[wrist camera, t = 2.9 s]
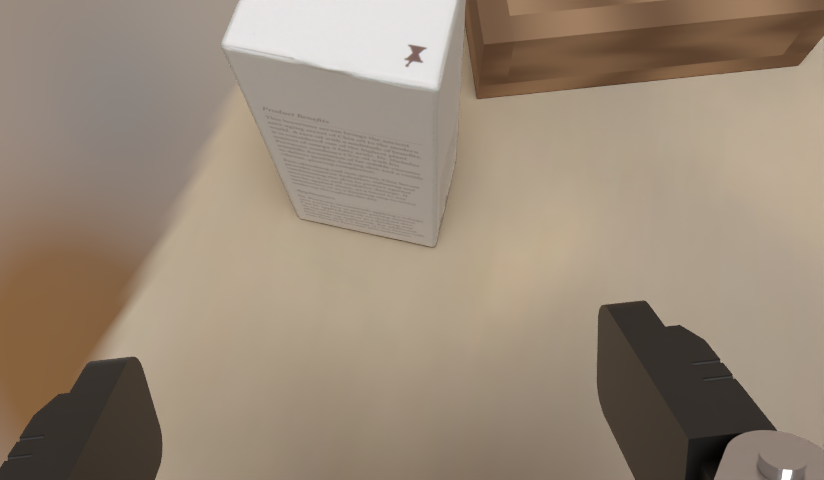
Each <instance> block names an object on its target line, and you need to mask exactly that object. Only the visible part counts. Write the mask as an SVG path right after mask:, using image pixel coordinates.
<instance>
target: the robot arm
mask: <svg viewBox="0 0 824 480" xmlns="http://www.w3.org/2000/svg"><path fill="white" fill-rule="evenodd" d="M597 388H598V395H599V400H600V404H601V408H602V411H603V414H604V416H605V418H606V420H607V422H608V424H609V426H610V428H611V431H612V433H613V435H614V437H615V439H616V441H617V443H618V445H619V447H620V449H621V451H622V453H623V455H624V457H625V459H626V462H627V464H628V466H629V468H630V470H631V472H632V474H633V476H634V478H635V480H824V450H823V449H821V448H820V447H818V446H817V445H815V444H813V443H812V442H810V441H808V440H806V439H803V438H801V437H798V436H795V435H792V434H789V433H784V432H780V431H777V430H776V428H775V427H774V426H773V425H772V423H771V422H770V421H769V420H768V418H767V417H766V416H765V415H764V413H763V412H762V411H761V410H760V408H759V407H758V406H757V405H756V403H755V402H754V401H753V400H752V398H751V397H750V396H749V395H748V393H747V392H746V391H745V390H744V388H743V387H742V386H741V385H740V383H739V382H738V381H737V380H736V379H733V376H732V373H731V372H730V371H729V370H728V368H727V367H726V366H725V365H724V363H721V362H720V358H719V357H718V356H717V355H716V353H715V352H714V351H713V350H712V348H711V347H710V346H709V345H708V343H707V342H706V341H705V340H704V339H702V338H700V337H699V336H697V335H695V334H694V333H692V332H690V331H689V330H687V329H685V328H684V327H682V326H680V325H677V326H668V327H665V326H664V324H663V323H662V322H661V320H660V319H659V318H658V316H657V315H656V314H655V312H654V311H653V309H652V308H651V307H650V305H649V304H648V303H647V302H646V301H635V302H626V303H617V304H608V305H602V306H601V307H600V310H599V315H598V352H597ZM161 458H162V434H161V429H160V425H159V422H158V418H157V415H156V411H155V408H154V405H153V401H152V398H151V394H150V391H149V388H148V384H147V381H146V377H145V374H144V371H143V368H142V365H141V363H140V361H139V360H138V359H137V358H136V357H126V358H117V359H108V360H99V361H91V362H89V363H88V364H87V365H86V366H85V368H84V369H83V371H82V373H81V374H80V376H79V378H78V379H77V381H76V383H75V384H74V386H73V388H72V390H71V391H70V393H65V394H58V395H57V396H56V397H55V398H54V399H52V400H51V401H50V402H49V403H48V404H47V405H45V406H44V407H43V408H42V409H41V410H40V411H38V412H37V413H36V414H35V415H34V416H33V417H32V419H31V421H30V422H29V424H28V425H27V427H26V428H25V430H24V431H23V433H22V435H21V436H20V442H16V444H15V446H14V447H13V449H12V450H11V452H10V453H9V455H8V461H4V463H3V464H2V466H1V467H0V480H155V478H156V475H157V472H158V469H159V467H160V463H161Z"/></svg>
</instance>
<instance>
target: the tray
mask: <svg viewBox="0 0 824 480" xmlns="http://www.w3.org/2000/svg"><path fill="white" fill-rule="evenodd" d="M465 26H466V32H467V39H468V45H469V51H470V57H471V64H472V70H473V76H474V82H475V89H476V95H477V99H480V98H489V97H499V96H508V95H518V94H528V93H537V92H547V91H557V90H566V89H576V88H585V87H595V86H605V85H614V84H624V83H633V82H643V81H653V80H662V79H672V78H681V77H691V76H701V75H710V74H720V73H730V72H739V71H749V70H758V69H768V68H778V67H787V66H797V65H799V64H800V63H801V62H802V61H803V60H804V58H805V57H806V56H807V55H808V54H809V52H810V51H811V50H812V49H813V48H814V47H815V45H816V44H817V43H818V42H819V41H820V39H821V38H822V37H823V36H824V0H466V5H465Z"/></svg>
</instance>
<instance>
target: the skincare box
mask: <svg viewBox="0 0 824 480" xmlns="http://www.w3.org/2000/svg"><path fill="white" fill-rule="evenodd" d="M465 5H466V0H239V2H238V4H237V6H236V9H235V11H234V14H233V16H232V19H231V21H230V24H229V26H228V28H227V31H226V33H225V35H224V38H223V40H222V43H221V48H222V50H223V52H224V54H225V57H226V59H227V61H228V63H229V64H230V67H231V69H232V71H233V73H234V75H235V78H236V80H237V82H238V84H239V86H240V89H241V91H242V93H243V95H244V97H245V99H246V102H247V104H248V106H249V108H250V110H251V113H252V115H253V117H254V119H255V122H256V124H257V126H258V128H259V131H260V133H261V135H262V138H263V140H264V142H265V144H266V146H267V149H268V151H269V153H270V155H271V158H272V160H273V162H274V164H275V167H276V169H277V171H278V173H279V176H280V178H281V180H282V182H283V185H284V187H285V189H286V191H287V193H288V196H289V198H290V200H291V203H292V205H293V207H294V209H295V211H296V213H297V216H298V217H299V218H300V219H305V220H310V221H315V222H319V223H324V224H328V225H333V226H337V227H342V228H347V229H351V230H356V231H360V232H365V233H370V234H375V235H379V236H384V237H388V238H393V239H398V240H403V241H407V242H412V243H416V244H421V245H425V246H429V247H434V246H435V245H436V242H437V238H438V233H439V229H440V226H441V222H442V218H443V214H444V210H445V206H446V202H447V197H448V193H449V189H450V184H451V180H452V175H453V171H454V167H455V163H456V153H457V137H458V123H459V106H460V89H461V72H462V56H463V41H464V25H465Z"/></svg>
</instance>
